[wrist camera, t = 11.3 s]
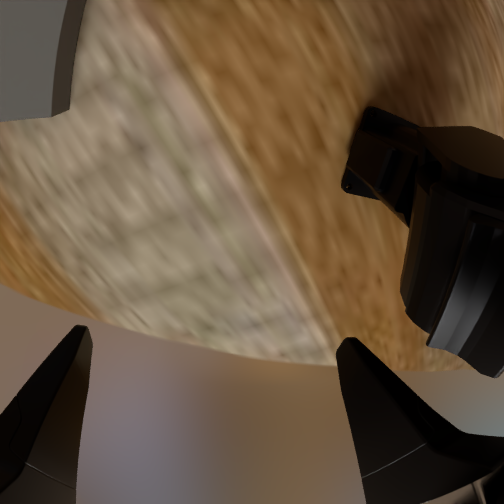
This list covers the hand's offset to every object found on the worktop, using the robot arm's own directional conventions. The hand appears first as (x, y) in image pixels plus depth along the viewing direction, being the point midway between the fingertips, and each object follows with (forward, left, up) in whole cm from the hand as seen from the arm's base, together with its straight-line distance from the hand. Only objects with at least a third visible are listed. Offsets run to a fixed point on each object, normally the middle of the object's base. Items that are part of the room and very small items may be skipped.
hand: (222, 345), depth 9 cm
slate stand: (+15, -10, -12) cm, 22 cm away
